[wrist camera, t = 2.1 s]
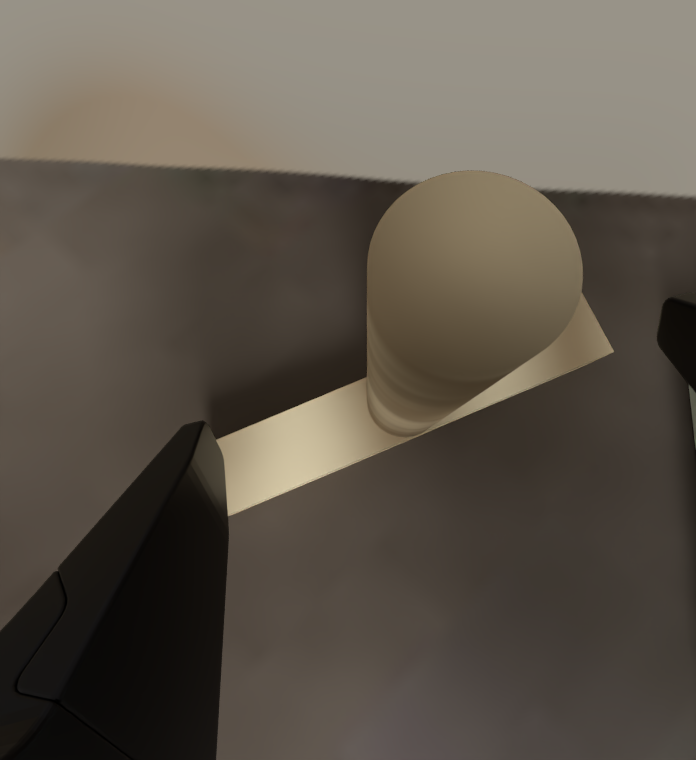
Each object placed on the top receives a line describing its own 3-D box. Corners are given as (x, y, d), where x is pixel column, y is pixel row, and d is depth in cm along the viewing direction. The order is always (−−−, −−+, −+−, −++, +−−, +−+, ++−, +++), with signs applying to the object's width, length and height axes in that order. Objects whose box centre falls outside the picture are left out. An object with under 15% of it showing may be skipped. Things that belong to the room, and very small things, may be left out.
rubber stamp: (556, 307, 18) (954, -34, 6) (586, 364, 18) (1084, 125, 5) (212, 452, 18) (-145, 410, 5) (234, 514, 17) (-100, 624, 5)
